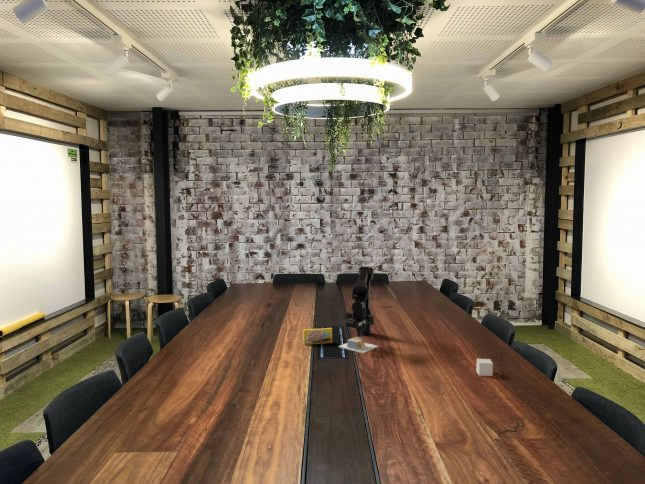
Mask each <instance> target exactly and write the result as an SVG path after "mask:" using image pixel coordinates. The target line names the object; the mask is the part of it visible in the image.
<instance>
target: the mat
mask: <svg viewBox="0 0 645 484" xmlns="http://www.w3.org/2000/svg"><path fill="white" fill-rule="evenodd" d="M378 347H379V345H376V344H372V343H367V342H365V346H364V347H362V348H359V349H357V350H355V349H351V348H347V342H346V343H343V344H340V345H338V348H340V349H344V350H349V351H352V352H356V353H359V354H365V353H367V352H370V351H372V350H374V349H376V348H378Z"/></svg>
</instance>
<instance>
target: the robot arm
mask: <svg viewBox="0 0 645 484" xmlns="http://www.w3.org/2000/svg"><path fill="white" fill-rule="evenodd" d="M358 275H359V276H358V280H357V282H355V283H354V286H353V288H352V293H351V299H352V300H354V302H353V303H352V304H351V310H352V312H348V311H347V312H344V313H343V314H344V315H343V318H344V319H346V321H345V327H348V328H353V329H355V330H356V333H357V337H359V338H362V336H367V337H368V336H371V335H372V334H374V332H372V330H371V329H372V326H373V325H375V317H374V316H373V311H372V309H371V307H370V297H371V296H370V295H371V294H370V291H371V290H370V289H371V288H370V287H371V281H372V280H373V276H374V275H375V270H374V268H373V267H369V266H363V265H362V266H359V267H358Z"/></svg>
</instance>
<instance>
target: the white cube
mask: <svg viewBox="0 0 645 484" xmlns="http://www.w3.org/2000/svg"><path fill="white" fill-rule="evenodd" d="M475 367H476V369H475V371H476V373H477V374H478V376H479V377H481V376H482V377H483V376H485V377H492V376H493V372H494V369H493V368H494V363H493V362H492V360H491V359H490V358H476V366H475Z"/></svg>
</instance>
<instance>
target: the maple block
mask: <svg viewBox="0 0 645 484" xmlns="http://www.w3.org/2000/svg"><path fill="white" fill-rule="evenodd" d="M346 341H347V342H346V343H347V348H351V349H355V350H357V349H359V348H362V347H364V346H365V343H366V338H363V337H358V336H354V337H351V338H349V339H347V340H346Z"/></svg>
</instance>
